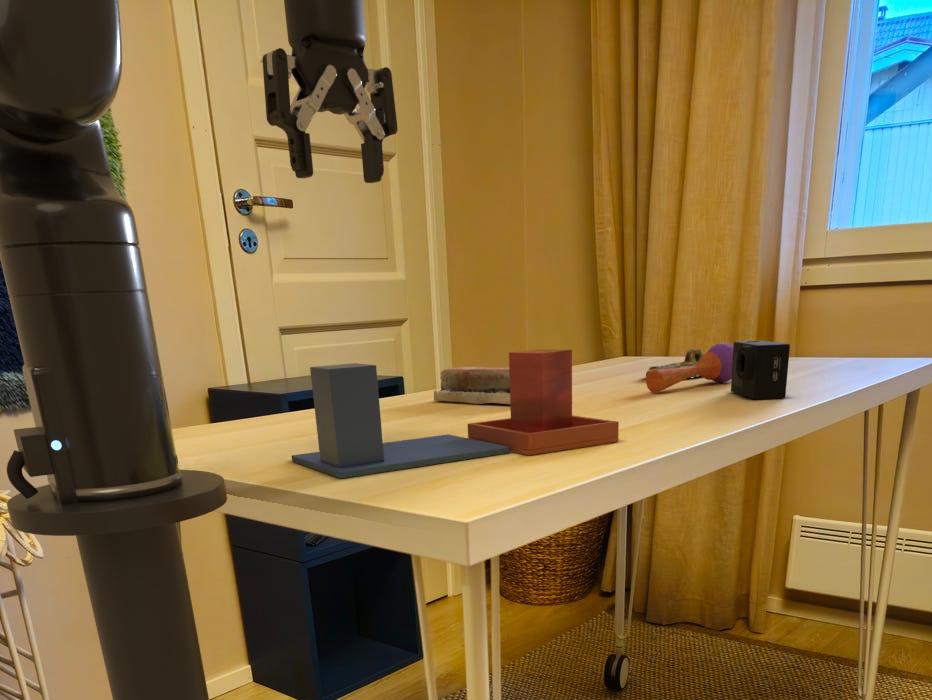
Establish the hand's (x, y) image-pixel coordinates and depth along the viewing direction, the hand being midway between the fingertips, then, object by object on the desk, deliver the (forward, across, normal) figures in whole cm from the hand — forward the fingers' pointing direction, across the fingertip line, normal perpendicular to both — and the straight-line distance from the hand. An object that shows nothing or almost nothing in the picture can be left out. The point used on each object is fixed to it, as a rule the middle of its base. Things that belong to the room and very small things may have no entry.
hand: (340, 180), depth 88 cm
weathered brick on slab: (+26, +33, +11) cm, 44 cm away
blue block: (+26, -12, -15) cm, 32 cm away
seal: (+26, +73, +7) cm, 78 cm away
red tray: (+26, +8, -20) cm, 34 cm away
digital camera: (+26, +53, -18) cm, 62 cm away
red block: (+26, +8, -20) cm, 34 cm away
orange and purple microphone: (+26, +60, -5) cm, 66 cm away
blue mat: (+26, -6, -14) cm, 30 cm away
